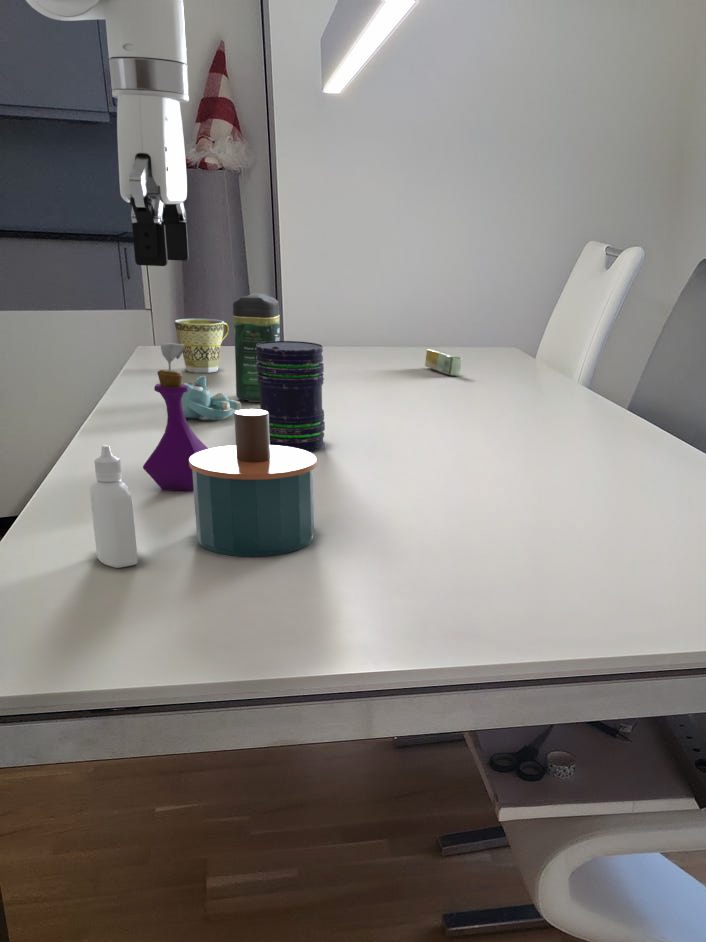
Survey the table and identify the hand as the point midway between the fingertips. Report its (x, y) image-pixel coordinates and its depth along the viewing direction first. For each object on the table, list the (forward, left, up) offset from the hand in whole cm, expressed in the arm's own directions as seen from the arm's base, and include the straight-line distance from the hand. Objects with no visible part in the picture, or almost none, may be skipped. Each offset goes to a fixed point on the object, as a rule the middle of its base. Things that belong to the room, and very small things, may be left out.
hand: (163, 262), depth 111 cm
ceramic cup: (-19, +107, -28) cm, 112 cm away
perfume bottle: (-3, +13, -28) cm, 31 cm away
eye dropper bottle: (-3, -17, -28) cm, 33 cm away
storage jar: (+8, +38, -28) cm, 48 cm away
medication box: (+31, +115, -28) cm, 122 cm away
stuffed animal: (-9, +58, -28) cm, 65 cm away
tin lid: (+10, -8, -20) cm, 24 cm away
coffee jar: (-3, +76, -28) cm, 81 cm away
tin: (+10, -8, -28) cm, 31 cm away
